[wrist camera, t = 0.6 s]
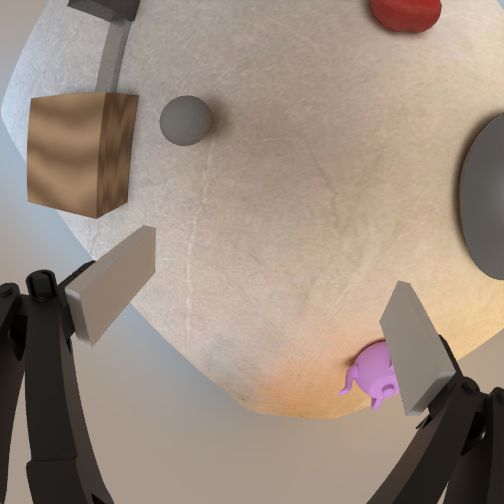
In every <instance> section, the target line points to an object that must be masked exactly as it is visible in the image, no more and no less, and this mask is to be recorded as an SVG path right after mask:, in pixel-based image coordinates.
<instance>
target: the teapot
mask: <svg viewBox="0 0 504 504" xmlns="http://www.w3.org/2000/svg"><path fill="white" fill-rule="evenodd" d="M354 379H355V381H356V383H357V384H358V386H359V387H360V388H361V389H362V390H363V391H364V392H365V393H367V394H368V395H369V396H371V406H372V409H373V410H377V409H378V408H379V407H380V405H381V403H382V401H383V399H385V398H389V397H392V396H394V395H396V394H398V393H399V392H400V390H399V386H398V382H397V378H396V375H395V371H394V368H393V364H392V360H391V357H390V354H389V350H388V347H387V344H386V341H383V342H378V343H375V344H373V345H371V346H369V347H367V348H366V349H365V350H364V351H362V352H361V353H360V355H359V356H358V357H357V358H356V360H355V362H354V365H352V366H351V367H350V368H349V369H348V371H347V373H346V379H345V387H344V388H343V389H342V390H341V391H340V392H338V393H337V395H343V394H346V393H348V392H349V391H350V390H351V388H352V381H353V380H354Z"/></svg>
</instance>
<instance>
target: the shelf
mask: <svg viewBox="0 0 504 504" xmlns="http://www.w3.org/2000/svg"><path fill="white" fill-rule="evenodd" d="M138 97H139V96H136V95H128V94H119V93H109V92H97V93H78V94H65V95H55V96H46V97H38V98H31V105H30V114H29V125H28V141H27V193H28V202H31V203H35V204H39V205H43V206H46V207H51V208H55V209H58V210H62V211H66V212H70V213H74V214H78V215H82V216H86V217H91V218H95V219H97V218H99V217H101V216H103V215H105V214H106V213H108V212H110V211H112V210H114V209H116V208H118V207H120V206H121V205H123V204H125V203H127V198H128V182H129V169H130V158H131V148H132V139H133V131H134V123H135V116H136V110H137V103H138Z"/></svg>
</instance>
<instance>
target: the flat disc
mask: <svg viewBox="0 0 504 504" xmlns="http://www.w3.org/2000/svg"><path fill="white" fill-rule="evenodd" d="M459 202H460V216H461V217H460V218H461V223H462V228H463V233H464V239H465V242H466V245H467V249H468V251H469V253H470V255H471V257H472V259H473V261H474V262H475V264H476V265H477V266H478V268H479V269H480V270H481V271H482V272H483V273H485V274H486V275H488V276H489V277H491V278H494V279H497V280H504V113H502V114H500V115H498V116H497V117H495V118H494V119H493V120H492V121H490V122H489V123H488V124H487V126H486V127H485V128H484V129H483V130H482V131H481V132H480V133H479V135H478V136H477V137H476V139H475V140H474V142H473V143H472V145H471V147H470V150H469V153H468V154H467V155H466V158H465V161H464V163H463V165H462V173H461V175H460V184H459Z"/></svg>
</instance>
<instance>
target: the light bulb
mask: <svg viewBox="0 0 504 504" xmlns="http://www.w3.org/2000/svg"><path fill="white" fill-rule="evenodd" d="M211 124H212V118H211V113H210V110H209V108H208V106H207V105H206V104H205V103H204V102H203V101H202V100H200V99H198V98H196V97H193V96H181V97H178V98H175V99H173V100H172V101H170V102H169V103H168V104H167V105H166V106H165V107H164V109H163V111H162V113H161V116H160V128H161V131H162V133H163V135H164V136H165V138H166V139H167V140H169V141H170V142H172V143H173V144H176V145H179V146H189V145H193V144H195V143H197V142H199V141H200V140H202V139H203V138H204V137H205V136H206V135H207V133H208V131H209V129H210V127H211Z"/></svg>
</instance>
